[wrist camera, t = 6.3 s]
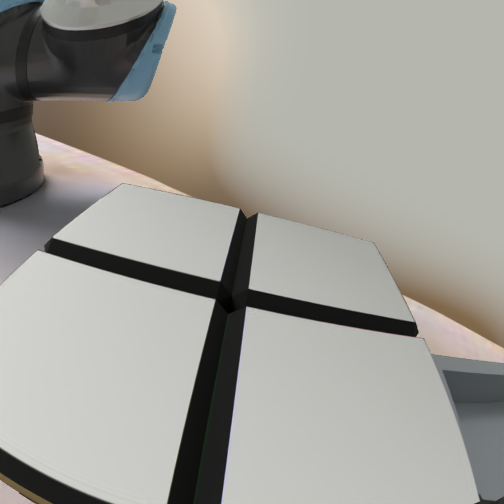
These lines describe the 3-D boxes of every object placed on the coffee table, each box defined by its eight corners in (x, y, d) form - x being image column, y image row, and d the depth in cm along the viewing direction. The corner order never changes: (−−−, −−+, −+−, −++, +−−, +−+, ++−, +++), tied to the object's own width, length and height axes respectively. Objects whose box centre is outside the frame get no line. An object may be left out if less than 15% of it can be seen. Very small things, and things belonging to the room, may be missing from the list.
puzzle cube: (121, 355, 15) (118, 178, 11) (297, 395, 16) (378, 240, 11) (56, 516, 7) (-98, 386, 2) (298, 566, 7) (495, 508, 2)
